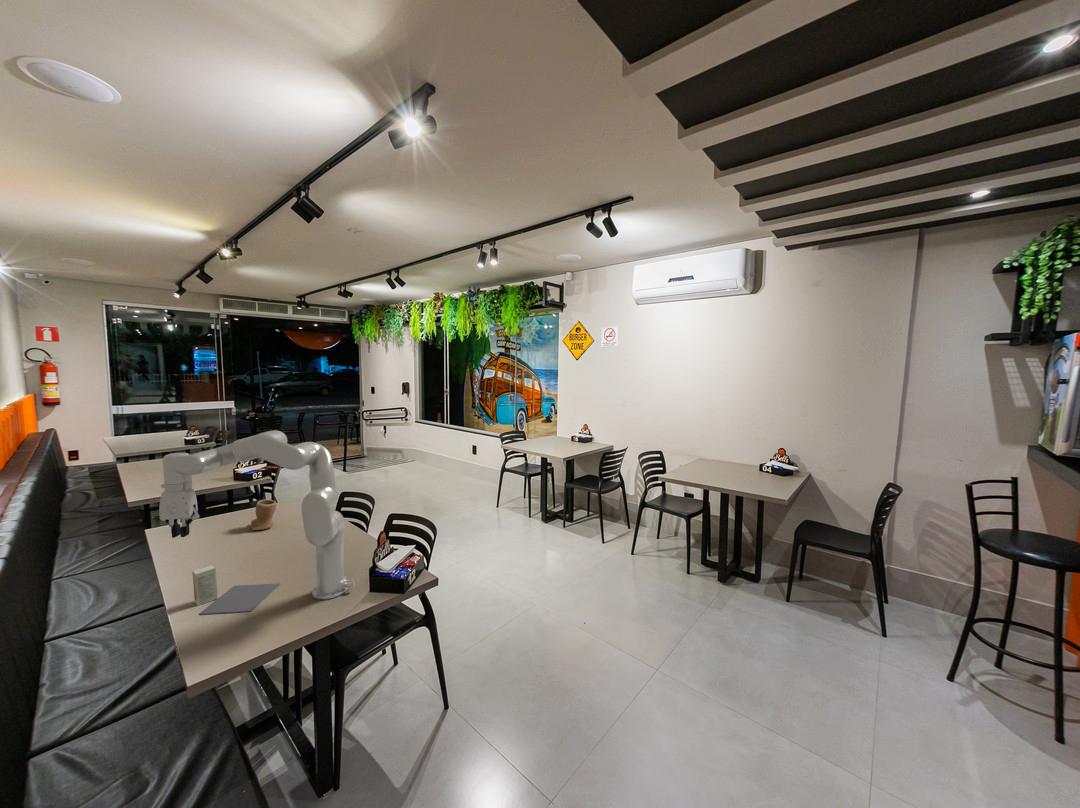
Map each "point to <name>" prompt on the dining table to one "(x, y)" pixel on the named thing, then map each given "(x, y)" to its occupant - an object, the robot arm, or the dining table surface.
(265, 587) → the mat
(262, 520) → the brown boot
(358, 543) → the dining table surface
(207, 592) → the skincare box
